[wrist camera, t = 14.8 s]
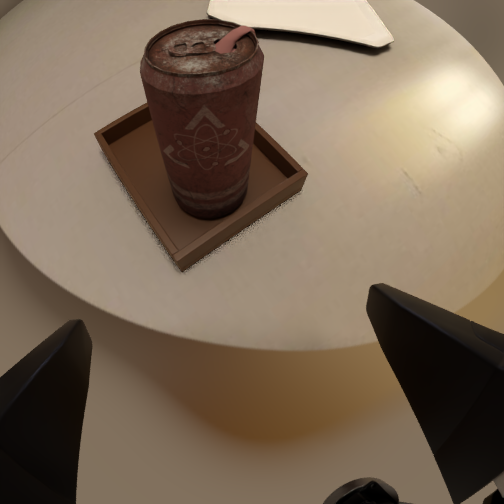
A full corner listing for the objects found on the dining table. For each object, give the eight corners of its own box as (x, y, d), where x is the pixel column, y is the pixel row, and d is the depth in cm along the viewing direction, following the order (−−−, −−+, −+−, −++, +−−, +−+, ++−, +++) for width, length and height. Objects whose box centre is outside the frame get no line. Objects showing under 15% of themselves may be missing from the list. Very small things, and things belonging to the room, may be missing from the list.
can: (264, 184, 25) (295, 40, 12) (210, 236, 23) (193, 95, 10) (213, 145, 26) (209, 5, 13) (159, 189, 24) (114, 50, 11)
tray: (301, 189, 26) (308, 173, 24) (181, 272, 23) (176, 262, 20) (204, 93, 29) (203, 75, 27) (102, 149, 26) (93, 133, 24)
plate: (219, -22, 43) (219, -31, 41) (354, -6, 45) (357, -13, 43) (203, 37, 33) (202, 24, 31) (399, 63, 35) (405, 53, 33)
